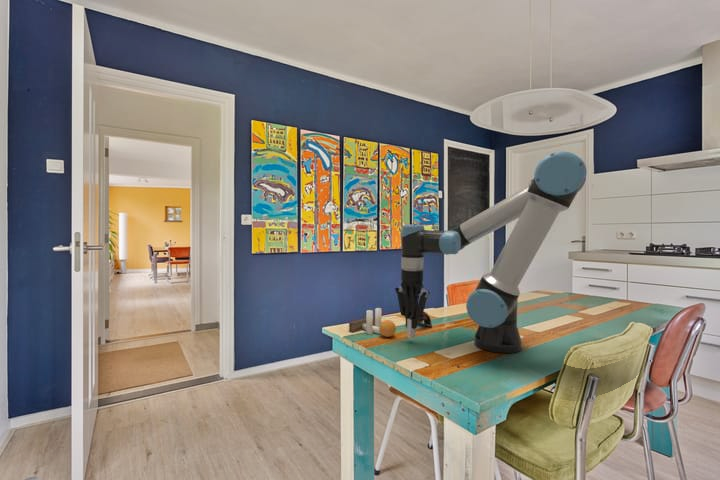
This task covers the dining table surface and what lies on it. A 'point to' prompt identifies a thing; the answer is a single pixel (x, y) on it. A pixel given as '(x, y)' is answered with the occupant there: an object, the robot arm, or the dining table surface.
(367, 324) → the pin
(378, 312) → the pin
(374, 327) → the front pin
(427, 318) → the pottery mug
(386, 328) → the ball
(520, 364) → the dining table surface
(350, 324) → the back wall
